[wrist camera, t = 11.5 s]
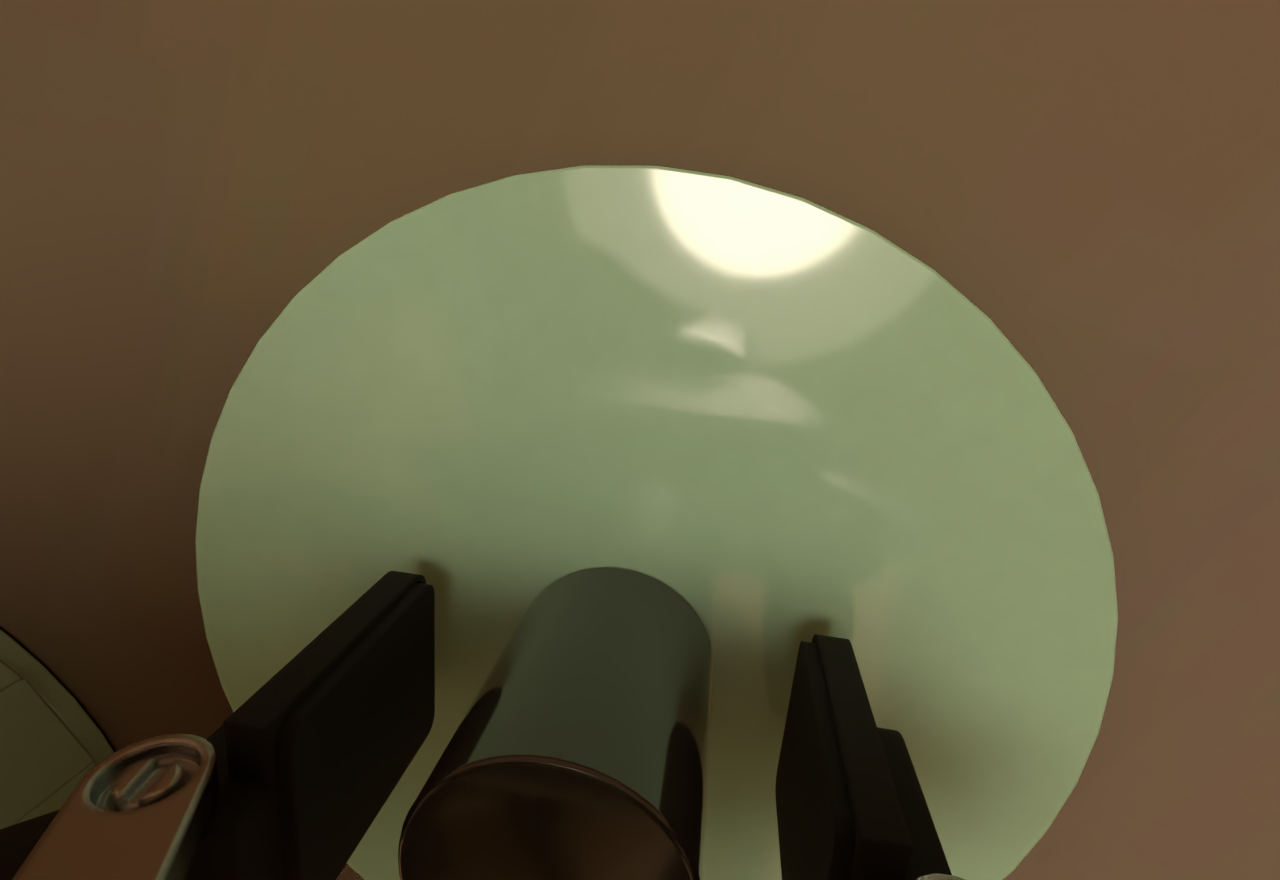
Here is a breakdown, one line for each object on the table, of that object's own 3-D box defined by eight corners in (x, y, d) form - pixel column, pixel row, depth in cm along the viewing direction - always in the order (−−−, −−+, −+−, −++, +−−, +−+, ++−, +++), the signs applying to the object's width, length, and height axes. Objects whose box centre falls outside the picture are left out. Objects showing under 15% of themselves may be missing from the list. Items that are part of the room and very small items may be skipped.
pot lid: (266, 868, 16) (27, 1180, 11) (196, 137, 11) (-292, 28, 6) (966, 1013, 14) (1109, 1475, 9) (1219, 217, 10) (1845, 164, 4)
